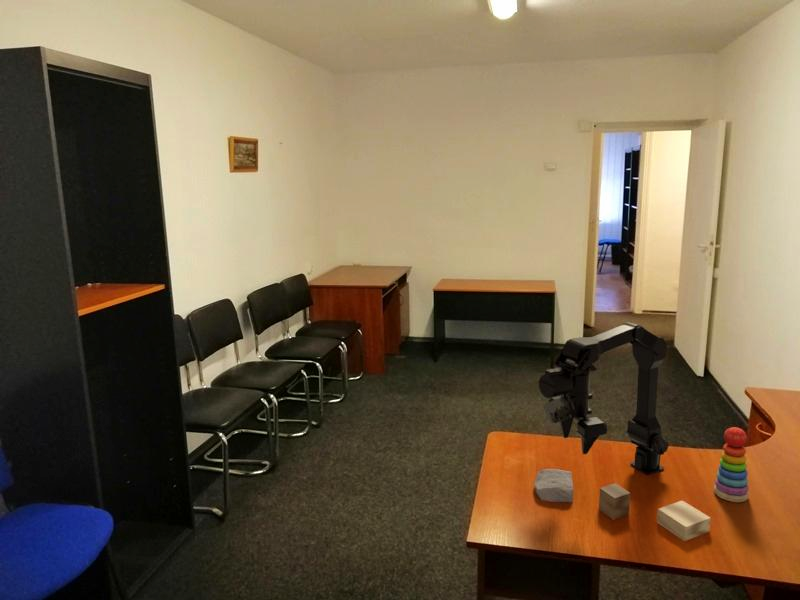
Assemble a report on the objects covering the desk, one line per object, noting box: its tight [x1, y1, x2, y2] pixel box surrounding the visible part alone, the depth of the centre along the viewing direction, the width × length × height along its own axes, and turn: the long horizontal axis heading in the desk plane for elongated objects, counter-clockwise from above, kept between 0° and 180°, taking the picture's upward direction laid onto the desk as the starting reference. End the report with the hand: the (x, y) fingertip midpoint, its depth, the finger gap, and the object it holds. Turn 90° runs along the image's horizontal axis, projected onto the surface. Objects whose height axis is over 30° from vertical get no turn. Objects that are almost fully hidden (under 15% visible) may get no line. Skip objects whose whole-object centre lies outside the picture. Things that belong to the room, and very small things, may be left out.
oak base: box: [656, 500, 712, 542], centre depth 139 cm, size 8×8×4 cm
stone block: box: [534, 468, 574, 503], centre depth 156 cm, size 12×5×10 cm
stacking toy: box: [713, 426, 750, 503], centre depth 149 cm, size 8×8×19 cm
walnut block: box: [598, 482, 631, 521], centre depth 145 cm, size 5×5×6 cm
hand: (575, 445), depth 151 cm, fingers open, 9 cm apart
